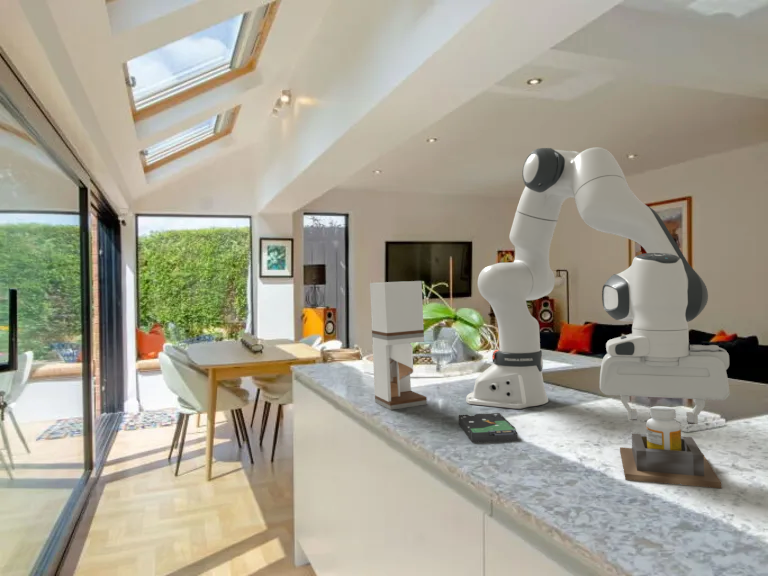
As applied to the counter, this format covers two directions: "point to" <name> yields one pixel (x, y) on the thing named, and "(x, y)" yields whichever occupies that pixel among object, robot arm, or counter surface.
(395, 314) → the white tower
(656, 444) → the supplement bottle
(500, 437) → the disk drive
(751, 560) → the counter surface
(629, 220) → the robot arm
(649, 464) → the socket board
